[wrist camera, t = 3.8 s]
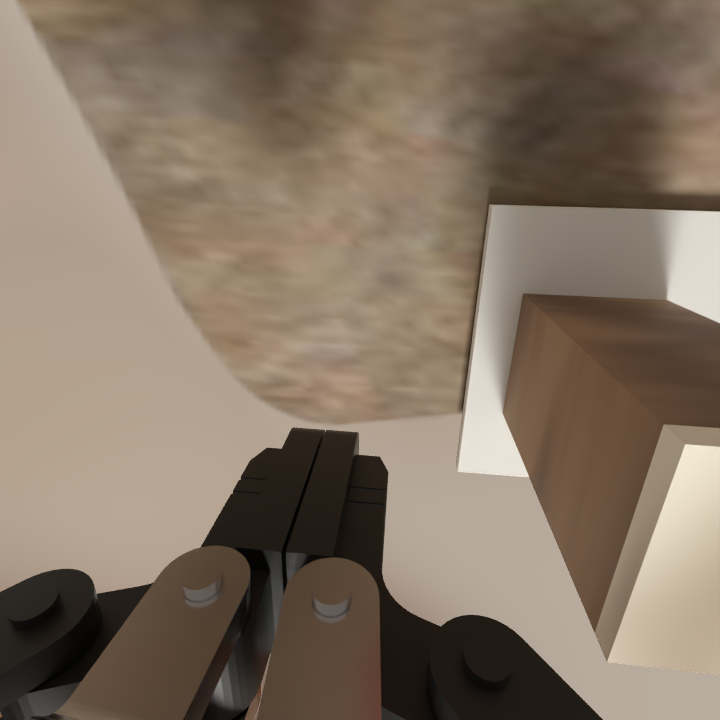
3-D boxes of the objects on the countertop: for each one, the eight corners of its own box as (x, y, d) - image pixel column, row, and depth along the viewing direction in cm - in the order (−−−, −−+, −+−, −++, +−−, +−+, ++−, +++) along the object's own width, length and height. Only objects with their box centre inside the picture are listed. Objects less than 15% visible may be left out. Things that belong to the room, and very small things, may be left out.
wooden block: (667, 300, 15) (1054, 471, 6) (630, 422, 17) (886, 693, 8) (523, 293, 16) (685, 444, 7) (502, 413, 18) (607, 662, 8)
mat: (1061, 221, 14) (1089, 222, 13) (894, 498, 18) (910, 507, 17) (489, 204, 15) (492, 205, 15) (456, 463, 20) (457, 471, 19)
